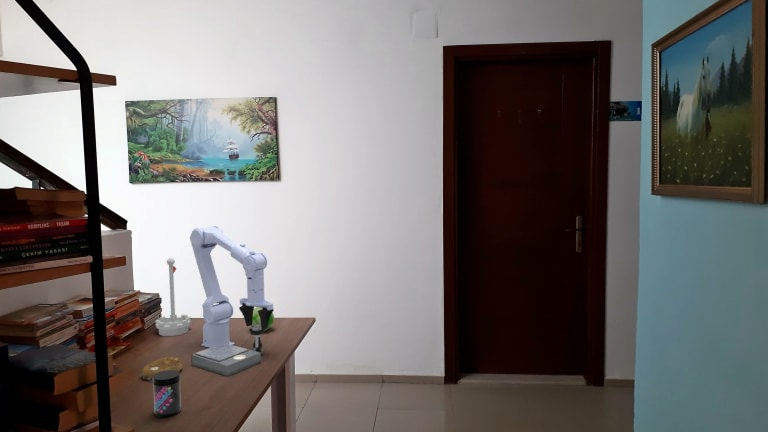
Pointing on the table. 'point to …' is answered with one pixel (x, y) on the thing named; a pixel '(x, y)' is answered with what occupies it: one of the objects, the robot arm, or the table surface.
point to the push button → (257, 337)
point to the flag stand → (173, 312)
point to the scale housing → (228, 363)
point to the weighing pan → (221, 352)
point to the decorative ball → (257, 318)
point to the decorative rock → (161, 367)
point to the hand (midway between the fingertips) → (256, 327)
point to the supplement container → (167, 393)
